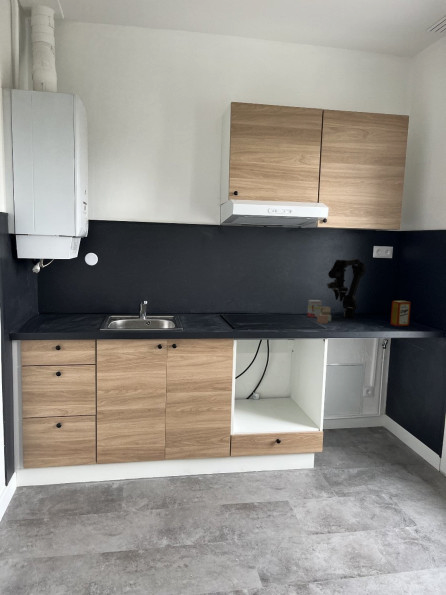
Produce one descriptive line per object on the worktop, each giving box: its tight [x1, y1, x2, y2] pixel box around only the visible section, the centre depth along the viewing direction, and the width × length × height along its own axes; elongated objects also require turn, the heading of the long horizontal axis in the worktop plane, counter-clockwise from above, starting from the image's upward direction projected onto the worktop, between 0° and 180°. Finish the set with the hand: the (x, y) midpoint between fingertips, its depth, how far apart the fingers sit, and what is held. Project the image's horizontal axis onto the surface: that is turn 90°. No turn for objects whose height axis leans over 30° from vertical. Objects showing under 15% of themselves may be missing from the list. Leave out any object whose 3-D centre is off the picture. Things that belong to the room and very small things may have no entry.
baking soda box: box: [390, 300, 412, 327], centre depth 296 cm, size 10×6×16 cm
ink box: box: [307, 299, 323, 318], centre depth 320 cm, size 9×5×12 cm, turn 103°
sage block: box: [319, 314, 332, 322], centre depth 308 cm, size 7×7×4 cm
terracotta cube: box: [316, 315, 329, 324], centre depth 296 cm, size 5×5×5 cm
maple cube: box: [321, 306, 332, 315], centre depth 307 cm, size 5×5×5 cm
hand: (338, 300), depth 311 cm, fingers open, 9 cm apart
